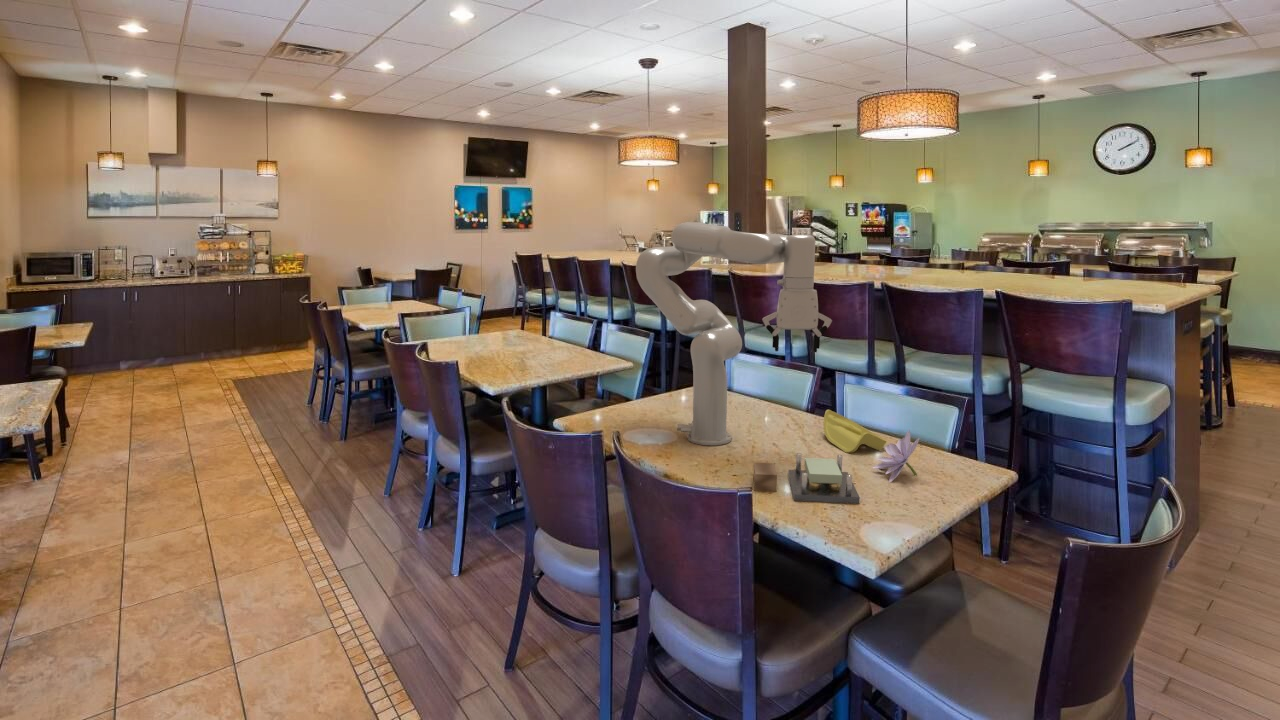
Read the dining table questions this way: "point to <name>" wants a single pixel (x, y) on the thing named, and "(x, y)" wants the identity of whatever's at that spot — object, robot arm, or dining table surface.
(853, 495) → the chassis
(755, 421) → the dining table surface
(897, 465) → the water lily
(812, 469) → the board
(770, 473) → the block
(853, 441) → the plastic component
